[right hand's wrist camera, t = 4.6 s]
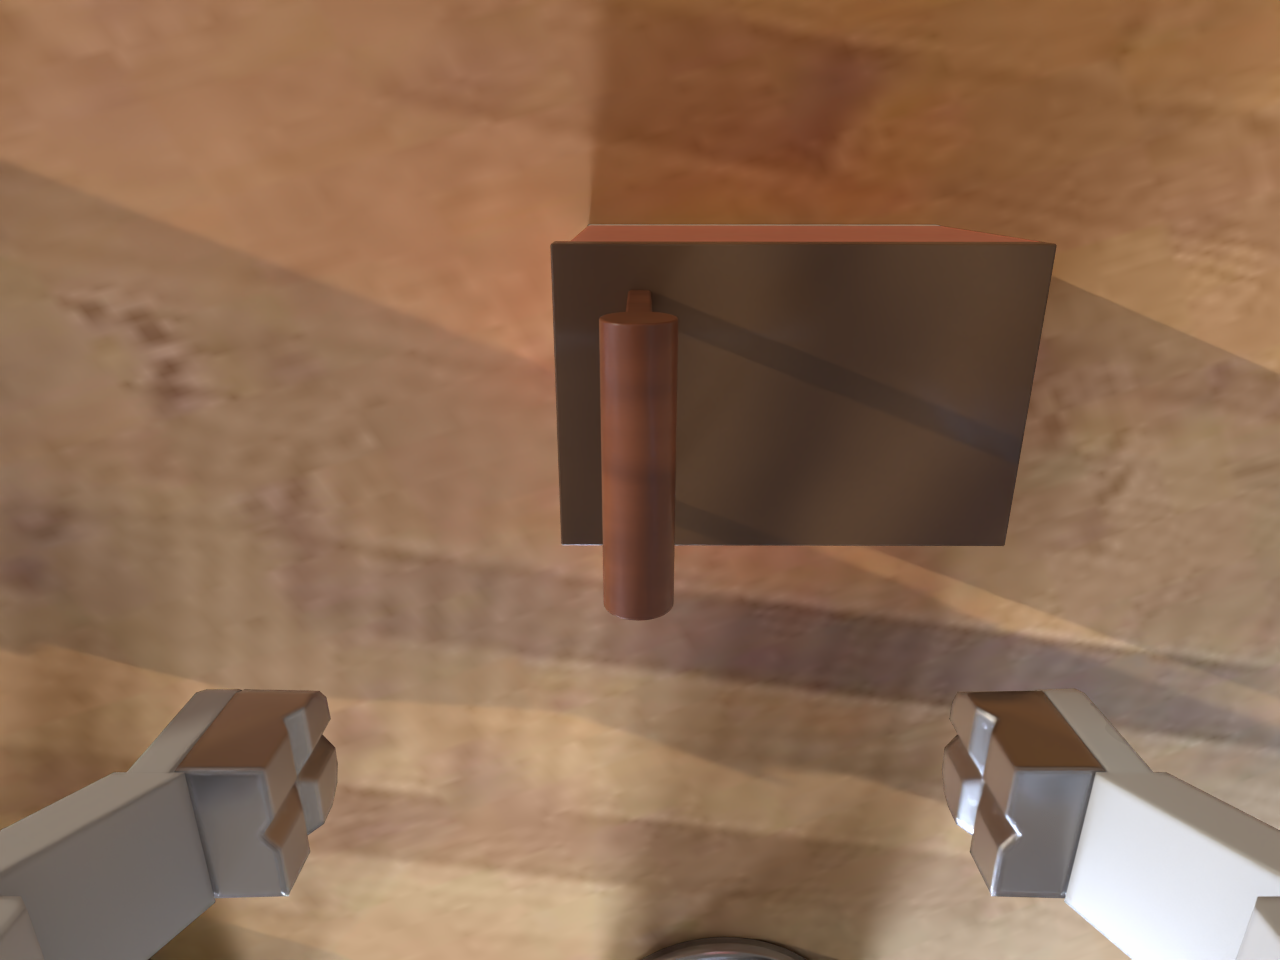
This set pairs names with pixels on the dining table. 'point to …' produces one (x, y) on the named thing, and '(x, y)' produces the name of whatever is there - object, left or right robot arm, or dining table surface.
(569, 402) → the lid
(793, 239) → the chest
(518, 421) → the dining table surface
